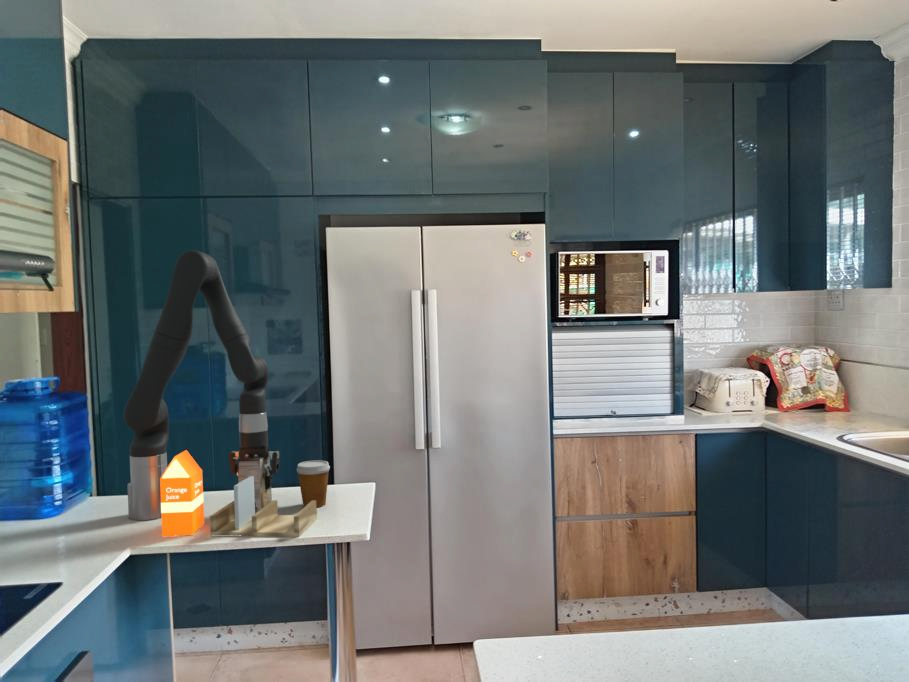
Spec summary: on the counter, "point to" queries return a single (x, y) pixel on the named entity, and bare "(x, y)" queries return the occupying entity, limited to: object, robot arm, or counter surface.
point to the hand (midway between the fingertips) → (255, 488)
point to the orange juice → (182, 496)
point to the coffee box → (255, 478)
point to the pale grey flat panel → (244, 502)
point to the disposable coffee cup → (313, 481)
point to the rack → (264, 521)
